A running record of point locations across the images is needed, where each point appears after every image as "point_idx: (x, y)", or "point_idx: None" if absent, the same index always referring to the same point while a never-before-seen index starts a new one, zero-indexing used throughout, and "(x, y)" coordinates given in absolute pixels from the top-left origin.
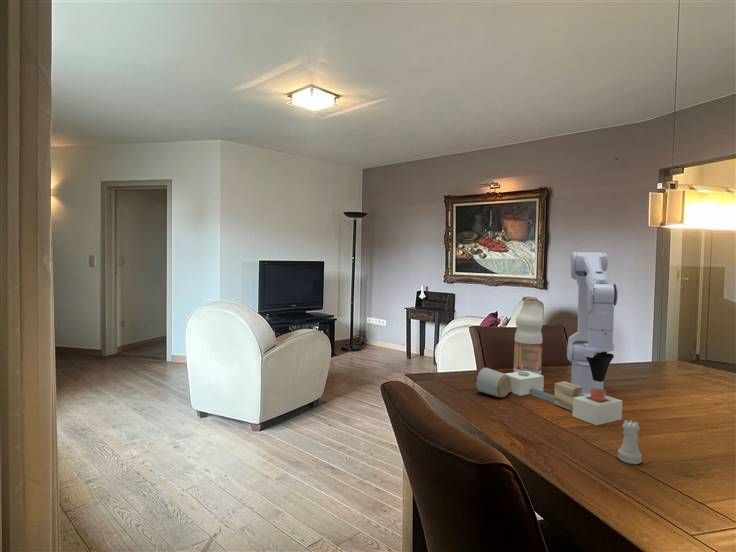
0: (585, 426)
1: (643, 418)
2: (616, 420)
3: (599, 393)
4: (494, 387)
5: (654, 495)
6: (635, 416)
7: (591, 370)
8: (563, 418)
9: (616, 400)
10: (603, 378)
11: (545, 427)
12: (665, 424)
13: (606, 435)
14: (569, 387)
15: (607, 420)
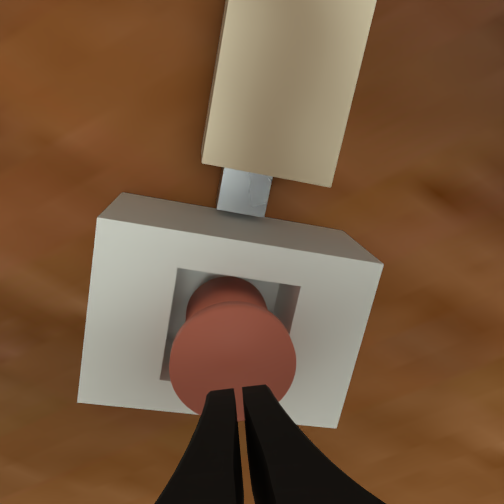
0: (37, 314)
1: (412, 406)
2: None
3: (183, 397)
4: None
5: None
6: (413, 375)
7: (182, 457)
8: (35, 180)
9: (307, 409)
10: (251, 481)
11: None
12: (404, 482)
13: (22, 422)
14: (216, 119)
15: None
